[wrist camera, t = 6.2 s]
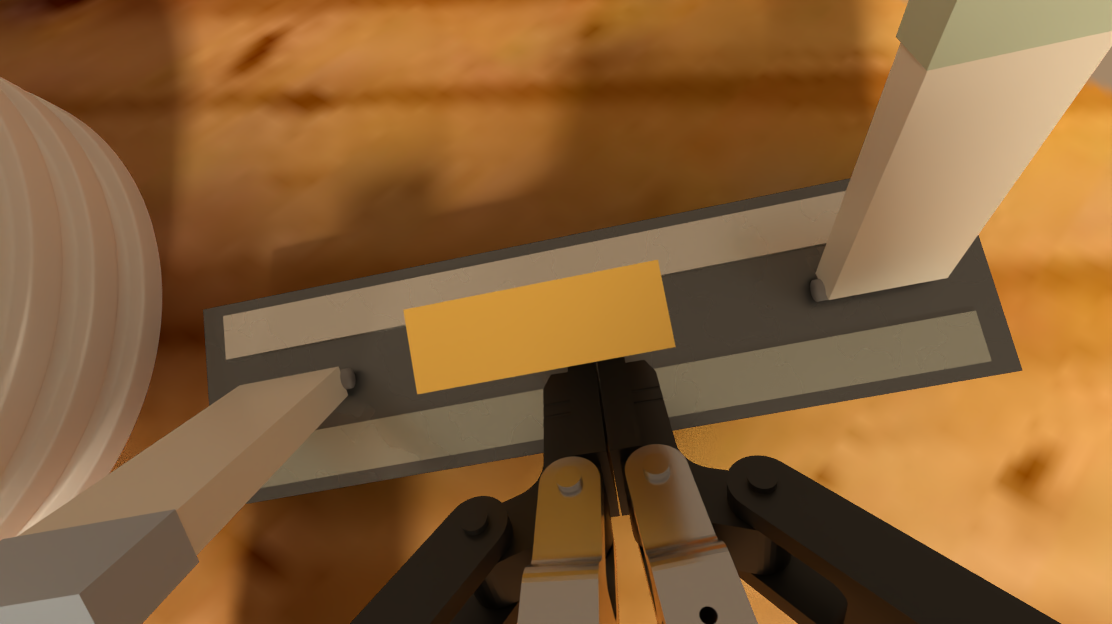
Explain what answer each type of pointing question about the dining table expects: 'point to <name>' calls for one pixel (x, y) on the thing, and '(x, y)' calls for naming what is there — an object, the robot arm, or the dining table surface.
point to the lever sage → (955, 133)
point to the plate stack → (68, 307)
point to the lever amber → (539, 327)
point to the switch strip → (683, 371)
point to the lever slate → (161, 507)
